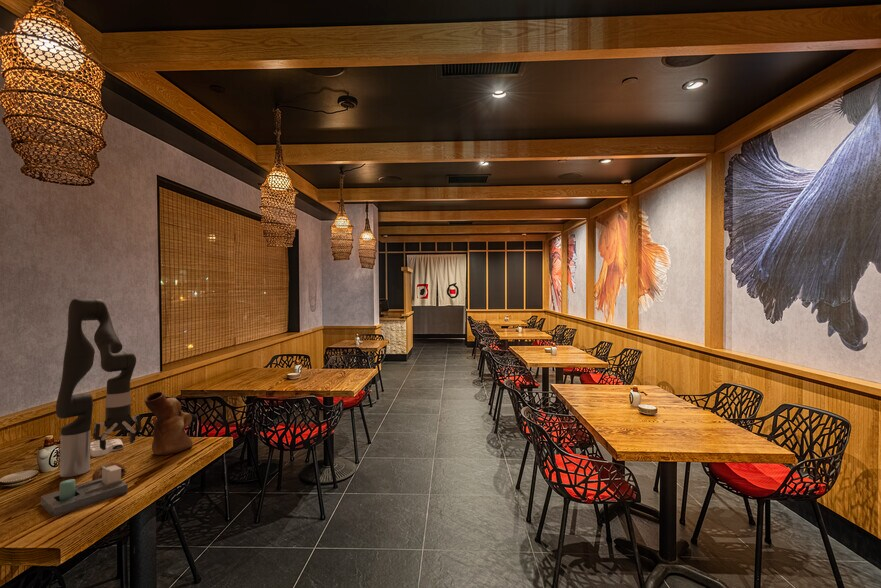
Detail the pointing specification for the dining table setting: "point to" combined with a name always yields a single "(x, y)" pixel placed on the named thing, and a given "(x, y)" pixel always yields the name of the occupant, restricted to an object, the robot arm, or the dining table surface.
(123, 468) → the bread roll
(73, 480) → the peg
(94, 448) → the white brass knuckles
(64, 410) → the robot arm
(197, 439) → the dining table surface
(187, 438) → the ceramic vessel
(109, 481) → the block
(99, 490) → the housing
